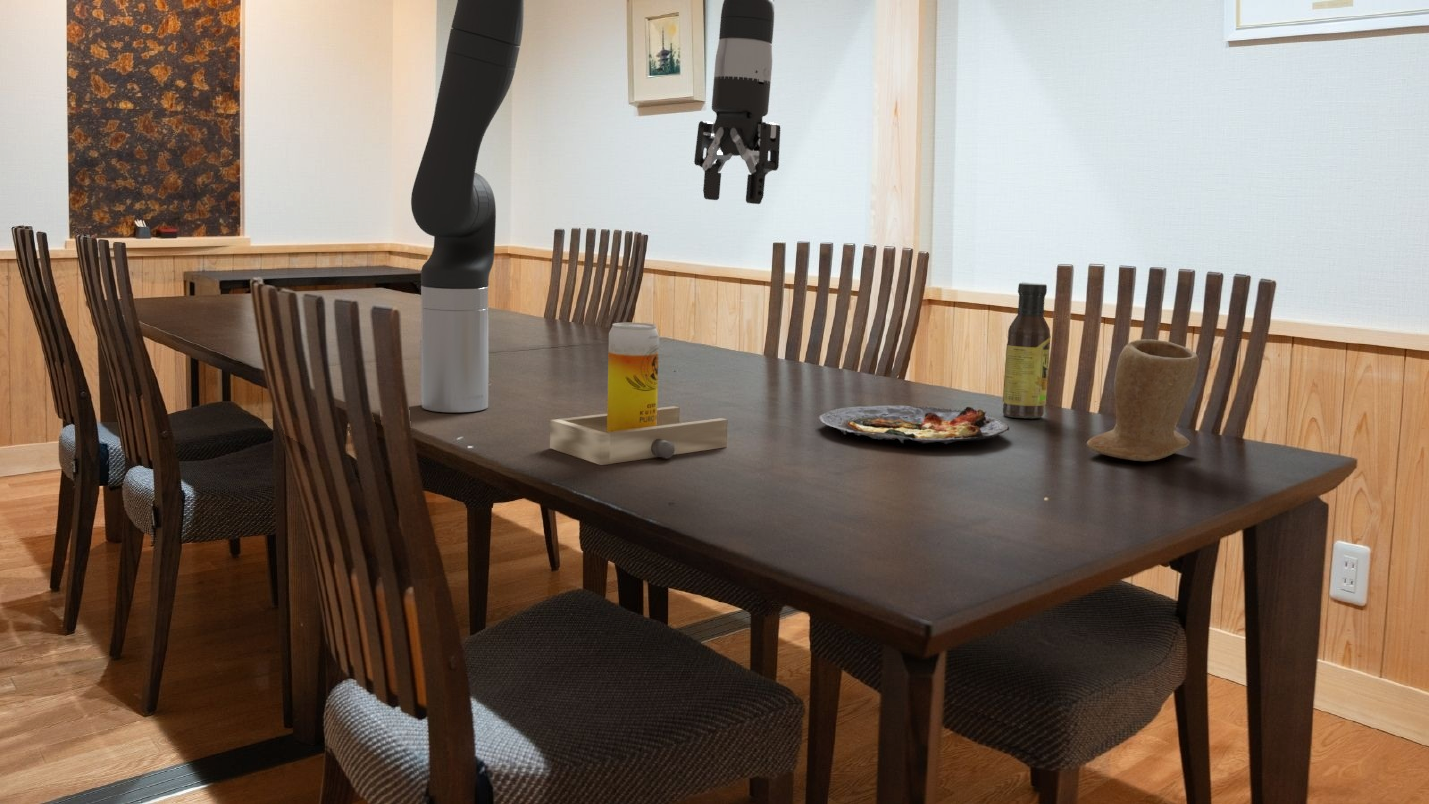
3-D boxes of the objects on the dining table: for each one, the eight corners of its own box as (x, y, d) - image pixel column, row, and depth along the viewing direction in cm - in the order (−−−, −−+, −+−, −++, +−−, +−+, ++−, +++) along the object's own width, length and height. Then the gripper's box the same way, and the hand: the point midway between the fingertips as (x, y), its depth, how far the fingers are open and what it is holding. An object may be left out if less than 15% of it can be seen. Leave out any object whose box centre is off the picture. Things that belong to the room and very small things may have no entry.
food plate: (1022, 429, 170) (1024, 404, 170) (986, 462, 149) (987, 434, 149) (853, 415, 181) (854, 391, 180) (797, 444, 160) (797, 417, 159)
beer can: (648, 452, 145) (652, 328, 143) (600, 449, 147) (602, 325, 144) (661, 443, 151) (664, 323, 149) (614, 439, 152) (617, 321, 150)
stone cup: (1165, 474, 146) (1178, 350, 143) (1073, 457, 154) (1084, 339, 151) (1213, 457, 157) (1225, 342, 154) (1125, 442, 165) (1135, 332, 162)
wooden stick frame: (541, 445, 149) (541, 417, 148) (663, 429, 161) (664, 403, 161) (611, 468, 138) (611, 438, 137) (737, 449, 150) (738, 422, 150)
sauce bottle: (1048, 421, 178) (1059, 285, 174) (1005, 419, 178) (1015, 284, 175) (1039, 413, 184) (1050, 282, 181) (998, 411, 184) (1008, 280, 181)
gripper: (686, 74, 162) (677, 197, 165) (758, 72, 152) (747, 203, 155) (728, 82, 167) (718, 200, 170) (800, 80, 157) (788, 206, 159)
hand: (732, 201), depth 162 cm, fingers open, 8 cm apart
